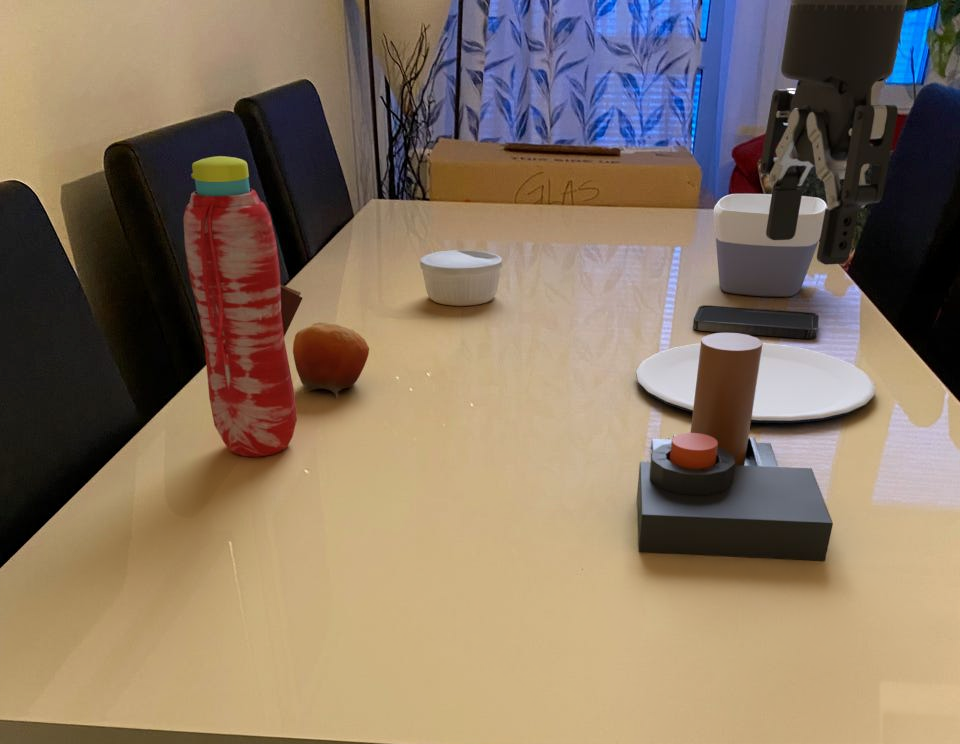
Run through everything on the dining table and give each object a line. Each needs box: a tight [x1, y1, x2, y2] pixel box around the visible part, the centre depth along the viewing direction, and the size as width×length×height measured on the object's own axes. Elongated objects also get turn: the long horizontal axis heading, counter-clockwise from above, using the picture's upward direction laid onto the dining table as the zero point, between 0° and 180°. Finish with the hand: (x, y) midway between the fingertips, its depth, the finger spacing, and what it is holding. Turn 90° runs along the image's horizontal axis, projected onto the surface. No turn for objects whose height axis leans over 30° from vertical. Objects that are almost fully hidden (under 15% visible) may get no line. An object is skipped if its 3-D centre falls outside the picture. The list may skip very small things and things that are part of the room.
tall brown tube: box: [690, 332, 763, 466], centre depth 85 cm, size 5×5×11 cm
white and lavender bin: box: [712, 193, 828, 298], centre depth 138 cm, size 15×15×11 cm
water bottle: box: [183, 155, 303, 458], centre depth 88 cm, size 12×8×25 cm, turn 161°
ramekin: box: [419, 249, 504, 307], centre depth 136 cm, size 11×11×5 cm
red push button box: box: [636, 443, 834, 562], centre depth 78 cm, size 10×14×5 cm
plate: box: [635, 342, 876, 424], centre depth 106 cm, size 25×25×1 cm
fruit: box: [292, 322, 370, 399], centre depth 106 cm, size 8×8×8 cm
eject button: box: [670, 432, 718, 469], centre depth 78 cm, size 4×4×2 cm
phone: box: [692, 304, 820, 340], centre depth 125 cm, size 8×1×15 cm
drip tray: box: [650, 434, 779, 467], centre depth 88 cm, size 11×11×2 cm
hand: (804, 250), depth 76 cm, fingers open, 8 cm apart
